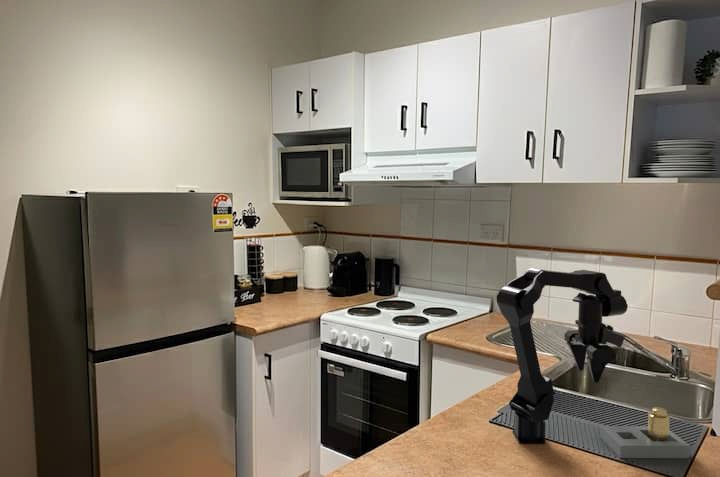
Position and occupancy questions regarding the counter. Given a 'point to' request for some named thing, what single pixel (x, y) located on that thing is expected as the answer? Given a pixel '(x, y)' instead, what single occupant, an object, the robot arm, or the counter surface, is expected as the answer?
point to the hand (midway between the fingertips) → (588, 376)
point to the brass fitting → (658, 425)
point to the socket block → (642, 443)
